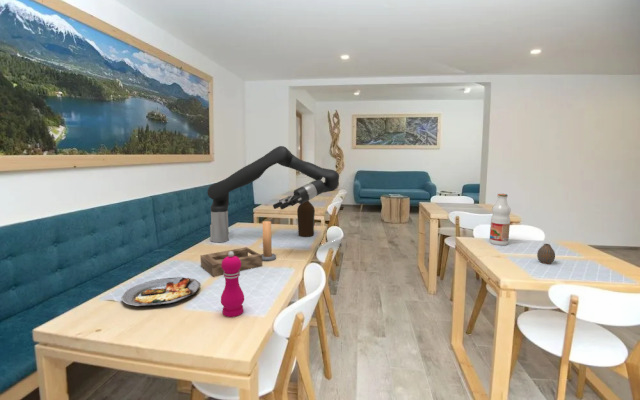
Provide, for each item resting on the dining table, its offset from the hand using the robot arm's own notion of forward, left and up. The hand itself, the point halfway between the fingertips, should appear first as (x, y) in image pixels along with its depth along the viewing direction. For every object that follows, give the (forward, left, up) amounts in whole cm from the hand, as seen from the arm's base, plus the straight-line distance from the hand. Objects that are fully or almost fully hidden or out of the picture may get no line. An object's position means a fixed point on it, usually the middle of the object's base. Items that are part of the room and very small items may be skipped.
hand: (277, 207), depth 157 cm
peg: (-5, 0, -25) cm, 25 cm away
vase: (+125, +3, -25) cm, 128 cm away
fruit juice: (+119, +36, -25) cm, 127 cm away
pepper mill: (-5, -54, -25) cm, 60 cm away
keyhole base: (-19, -11, -25) cm, 33 cm away
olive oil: (+9, +48, -25) cm, 55 cm away
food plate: (-34, -42, -26) cm, 60 cm away
